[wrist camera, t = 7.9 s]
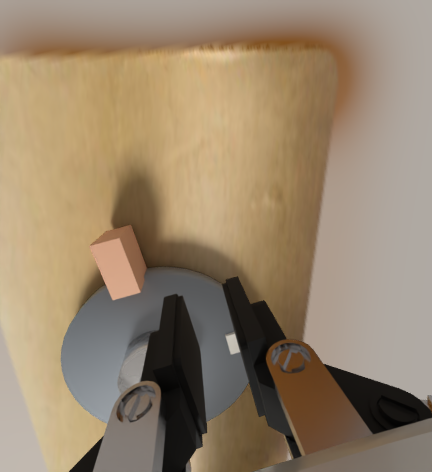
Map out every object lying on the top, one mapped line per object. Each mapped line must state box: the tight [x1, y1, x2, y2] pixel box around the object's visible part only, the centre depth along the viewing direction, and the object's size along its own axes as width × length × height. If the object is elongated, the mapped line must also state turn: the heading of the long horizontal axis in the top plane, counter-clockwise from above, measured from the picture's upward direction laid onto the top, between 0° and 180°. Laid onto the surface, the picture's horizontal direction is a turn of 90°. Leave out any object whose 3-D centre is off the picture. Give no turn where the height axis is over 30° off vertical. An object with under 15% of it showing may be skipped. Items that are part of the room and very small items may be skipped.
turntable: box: [61, 225, 249, 424], centre depth 25 cm, size 25×20×4 cm
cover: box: [117, 330, 158, 395], centre depth 24 cm, size 7×7×4 cm
